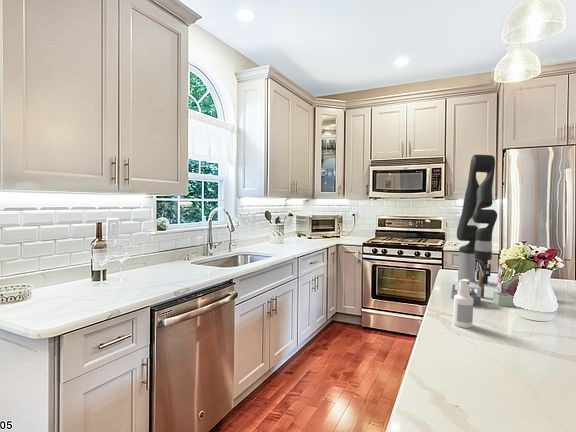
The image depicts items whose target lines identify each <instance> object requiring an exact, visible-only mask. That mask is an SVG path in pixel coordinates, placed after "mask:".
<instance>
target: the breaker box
mask: <svg viewBox="0 0 576 432" xmlns="http://www.w3.org/2000/svg"><path fill="white" fill-rule="evenodd" d="M469 286H470V296H471V297H472V298H473V306H481V302H482V298H481V287H479V284H477V283H476V282H475V283H474V282H469ZM458 290H459V281H453V280H452V281H451V294H450V296H451V298H450V299H452V300H453V301H454V296H455V295H457V294H458ZM475 290H476V291H477V292H475Z"/></svg>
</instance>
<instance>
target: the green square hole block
mask: <svg viewBox="0 0 576 432" xmlns="http://www.w3.org/2000/svg"><path fill="white" fill-rule="evenodd" d="M492 295H493V298H492V299H493V300H492V303H494V304H495V305H497V306H498V307H513V303H514V302H513V301H514V299H513V298H514V297H513V296H511V295H509V294H508V293H497V291H496V292H493V294H492Z"/></svg>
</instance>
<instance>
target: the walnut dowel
mask: <svg viewBox="0 0 576 432" xmlns="http://www.w3.org/2000/svg"><path fill="white" fill-rule="evenodd" d="M482 278H483V275H482V272H481V271H479V280H478V286H479V287H481V299H483V298H484V297H485V285H486V284H482Z"/></svg>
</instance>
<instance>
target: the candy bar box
mask: <svg viewBox="0 0 576 432" xmlns="http://www.w3.org/2000/svg"><path fill="white" fill-rule="evenodd" d="M502 272H503V268H502V267H501V266H500V265H499V264H498V273H497V286H496V293H508V294H509V295H511V296H514V294H515V292H516V290H517V286H518V282H519V276H518V275H514V276H512V278H511V279H510V280H508V281H506V282H503V283H501V282H500V275H501V274H502Z"/></svg>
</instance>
